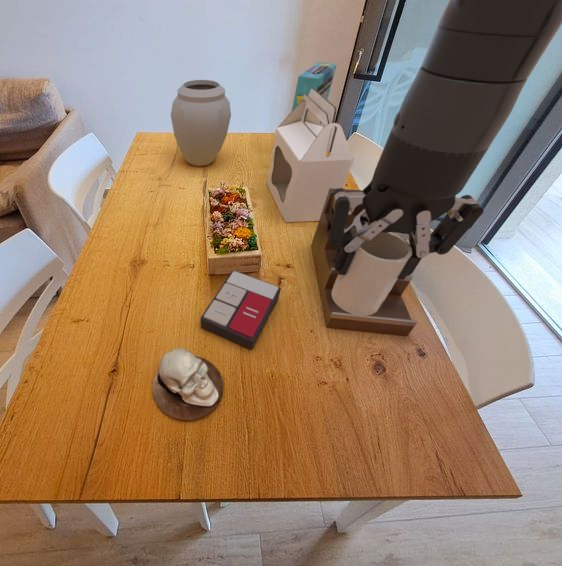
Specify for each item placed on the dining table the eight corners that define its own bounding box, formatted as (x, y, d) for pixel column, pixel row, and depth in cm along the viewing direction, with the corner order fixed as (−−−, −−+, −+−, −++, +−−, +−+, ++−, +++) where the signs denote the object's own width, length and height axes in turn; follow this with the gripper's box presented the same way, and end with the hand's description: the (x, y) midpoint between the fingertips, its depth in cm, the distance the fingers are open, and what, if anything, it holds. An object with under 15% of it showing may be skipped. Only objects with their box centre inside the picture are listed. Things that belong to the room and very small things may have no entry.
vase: (226, 150, 125) (231, 76, 108) (228, 174, 111) (235, 94, 94) (174, 150, 126) (171, 76, 108) (170, 174, 112) (166, 94, 95)
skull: (241, 375, 57) (221, 382, 47) (210, 425, 58) (185, 441, 48) (188, 336, 62) (161, 336, 53) (161, 382, 63) (130, 389, 54)
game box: (298, 169, 113) (319, 78, 94) (280, 164, 116) (298, 75, 97) (315, 147, 126) (337, 63, 107) (299, 144, 128) (318, 61, 109)
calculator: (199, 316, 63) (232, 267, 71) (199, 329, 66) (231, 280, 74) (254, 339, 59) (282, 284, 67) (251, 352, 62) (278, 298, 70)
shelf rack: (407, 336, 63) (454, 275, 52) (326, 327, 65) (354, 267, 54) (373, 251, 82) (402, 192, 70) (310, 246, 83) (329, 188, 72)
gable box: (266, 183, 106) (283, 85, 87) (306, 182, 107) (332, 83, 87) (285, 223, 90) (311, 114, 71) (332, 221, 91) (371, 111, 71)
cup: (388, 299, 44) (421, 245, 37) (366, 323, 41) (398, 269, 34) (345, 276, 47) (369, 222, 40) (322, 297, 44) (344, 243, 38)
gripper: (364, 145, 27) (312, 289, 39) (561, 153, 25) (444, 300, 37) (345, 114, 32) (304, 249, 44) (507, 119, 31) (419, 257, 42)
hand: (368, 272), depth 40 cm, fingers closed on cup, 6 cm apart
